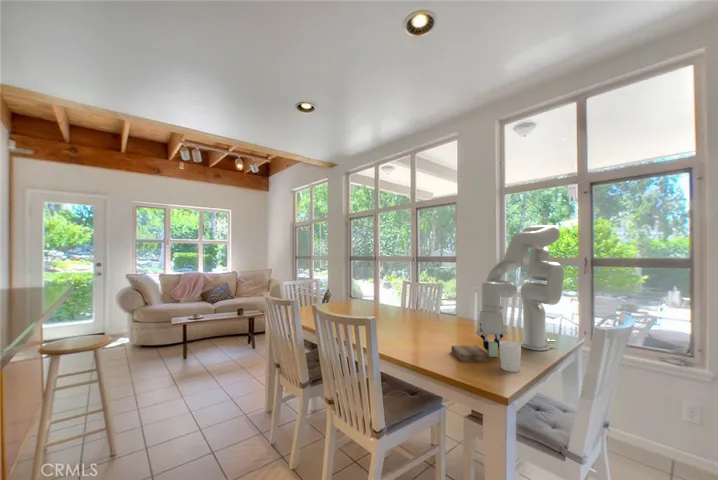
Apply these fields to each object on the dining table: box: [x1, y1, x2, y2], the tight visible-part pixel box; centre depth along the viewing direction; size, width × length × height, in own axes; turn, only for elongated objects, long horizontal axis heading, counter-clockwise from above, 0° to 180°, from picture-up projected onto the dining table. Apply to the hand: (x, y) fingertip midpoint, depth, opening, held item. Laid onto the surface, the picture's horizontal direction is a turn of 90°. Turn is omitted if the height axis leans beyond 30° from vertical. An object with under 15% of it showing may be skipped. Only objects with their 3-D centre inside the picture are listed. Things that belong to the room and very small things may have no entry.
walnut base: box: [451, 345, 490, 363], centre depth 136 cm, size 12×12×3 cm
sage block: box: [484, 339, 499, 358], centre depth 138 cm, size 4×4×6 cm
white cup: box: [499, 340, 522, 373], centre depth 122 cm, size 8×8×10 cm
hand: (491, 348), depth 138 cm, fingers closed on sage block, 4 cm apart
